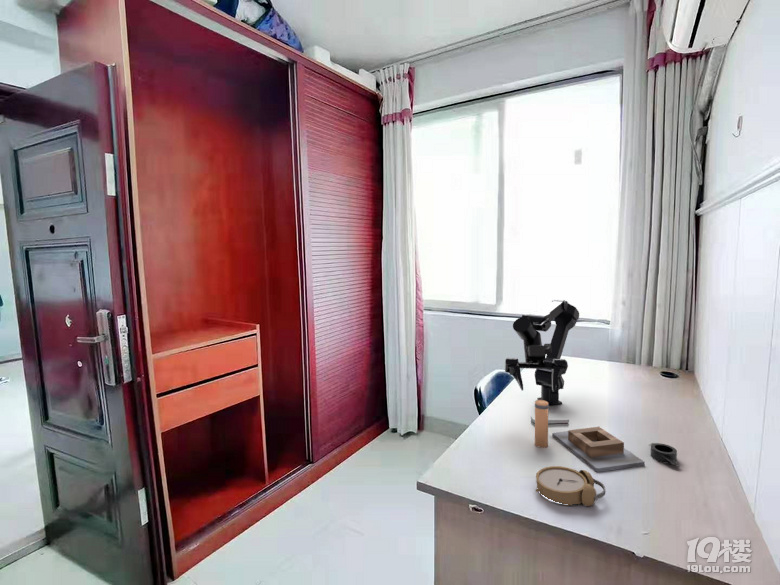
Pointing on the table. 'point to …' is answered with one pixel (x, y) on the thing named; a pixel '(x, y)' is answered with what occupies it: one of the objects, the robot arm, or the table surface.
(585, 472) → the alarm clock
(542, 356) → the robot arm
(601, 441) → the block
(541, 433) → the terracotta pin
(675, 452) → the black hollow winged cylinder
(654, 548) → the table surface
